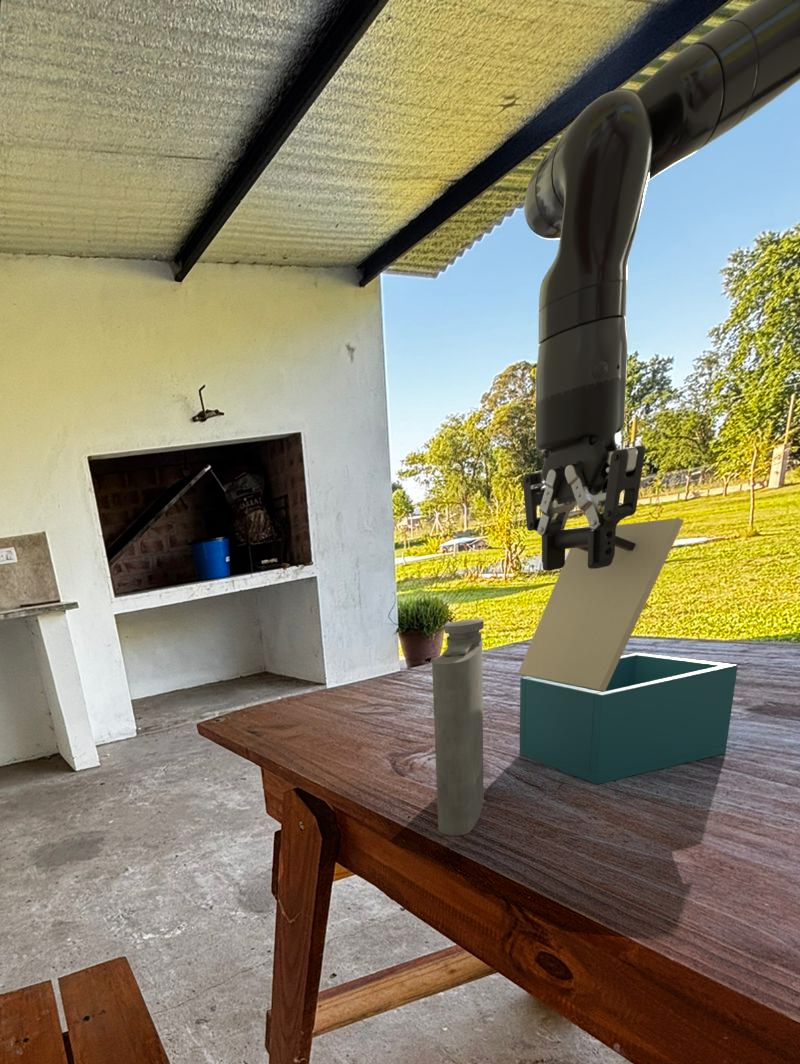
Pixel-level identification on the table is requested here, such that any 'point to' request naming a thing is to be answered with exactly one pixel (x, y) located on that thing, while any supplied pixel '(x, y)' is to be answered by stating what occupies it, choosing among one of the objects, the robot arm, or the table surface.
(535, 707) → the box
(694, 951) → the table surface
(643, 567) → the lid
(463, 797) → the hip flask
